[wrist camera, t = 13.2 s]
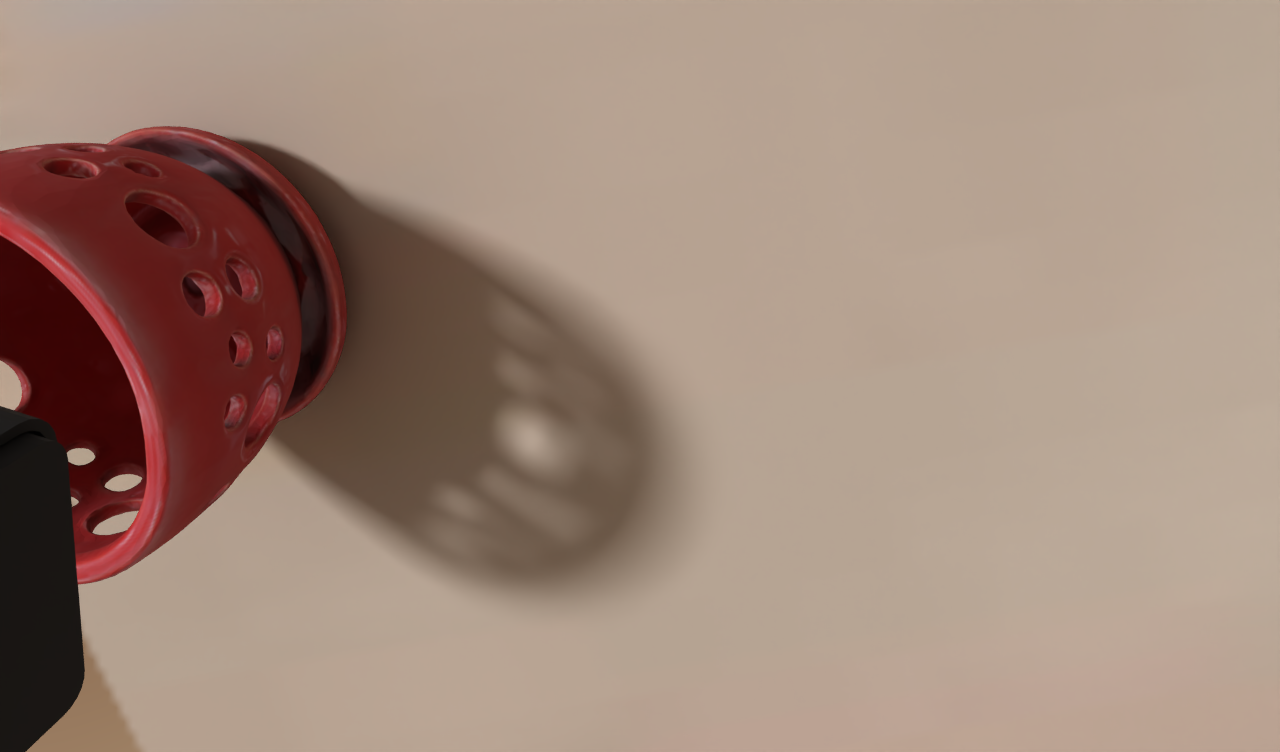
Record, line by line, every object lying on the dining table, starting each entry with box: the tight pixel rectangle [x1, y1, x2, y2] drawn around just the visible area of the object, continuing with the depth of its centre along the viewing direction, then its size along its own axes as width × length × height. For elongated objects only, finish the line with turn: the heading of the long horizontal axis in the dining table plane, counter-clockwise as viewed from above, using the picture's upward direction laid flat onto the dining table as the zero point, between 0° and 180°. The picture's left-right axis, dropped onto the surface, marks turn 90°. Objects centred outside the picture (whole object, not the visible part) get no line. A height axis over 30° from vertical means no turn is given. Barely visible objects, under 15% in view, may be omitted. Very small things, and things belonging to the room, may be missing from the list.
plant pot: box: [0, 126, 347, 584], centre depth 38 cm, size 13×13×12 cm
